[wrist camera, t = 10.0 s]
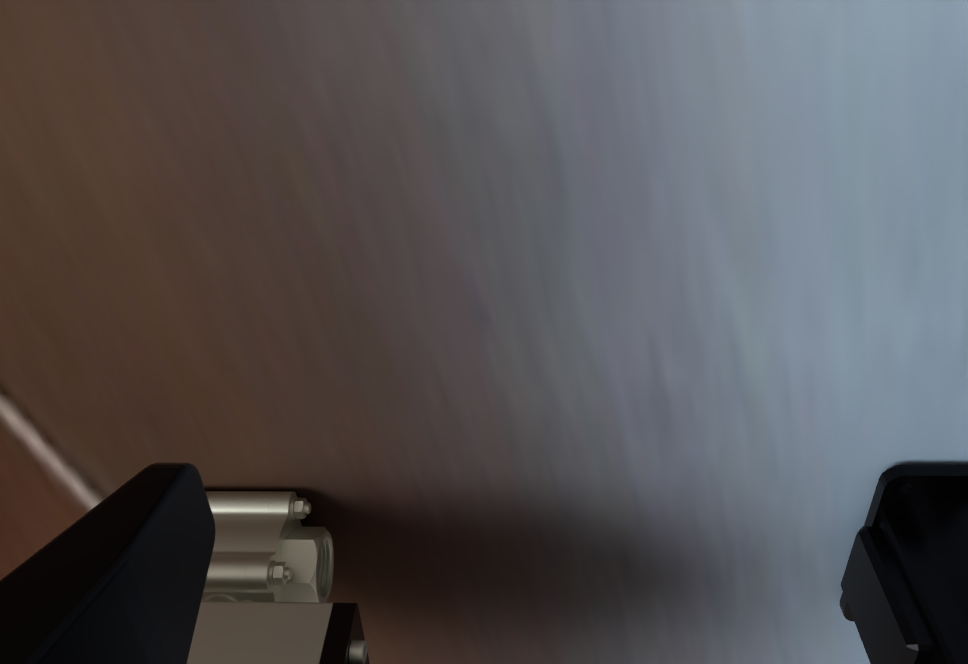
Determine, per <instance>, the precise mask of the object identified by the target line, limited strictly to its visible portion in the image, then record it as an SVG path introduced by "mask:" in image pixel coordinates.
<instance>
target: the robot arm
mask: <svg viewBox="0 0 968 664" xmlns="http://www.w3.org/2000/svg"><path fill="white" fill-rule="evenodd" d="M901 482H903V483H901ZM898 483H901V484H898ZM896 484H897V485H896ZM214 542H215V521H214V517H213V514H212V511H211V508H210V504H209V501H208V498H207V495H206V492H205V489H204V486H203V483H202V480H201V476H200V474H199V472H198V470H197V468H196V467H195V466H194V465H192V464H189V463H155V464H151V465H149V466H147V467H146V468H144V469H143V470H142V471H140V472H139V473H138V474H137V475H135V476H134V477H133V478H131V479H130V480H129V481H128V482H126V483H125V484H124V485H122V486H121V487H120V488H119V489H117V490H116V491H115V492H113V493H112V494H111V495H110V496H108V497H107V498H106V499H104V500H103V501H102V502H101V503H99V504H98V505H97V506H96V507H94V508H93V509H92V510H90V511H89V512H88V513H87V514H85V515H84V516H83V517H81V518H80V519H79V520H78V521H76V522H75V523H74V524H72V525H71V526H70V527H69V528H67V529H66V530H65V531H63V532H62V533H61V534H60V535H58V536H57V537H56V538H54V539H53V540H52V541H51V542H49V543H48V544H47V545H45V546H44V547H43V548H42V549H40V550H39V551H38V552H36V553H35V554H34V555H33V556H31V557H30V558H29V559H27V560H26V561H25V562H24V563H22V564H21V565H20V566H18V567H17V568H16V569H15V570H13V571H12V572H11V573H9V574H8V575H7V576H6V577H4V578H3V579H2V580H0V664H187V660H188V656H189V652H190V647H191V643H192V639H193V634H194V630H195V626H196V621H197V617H198V613H199V608H200V604H201V600H202V595H203V591H204V587H205V582H206V578H207V574H208V569H209V565H210V561H211V556H212V552H213V548H214ZM841 587H842V590H843V593H842V596H841V599H840V607H841V609H842V612H843V615H844V617H845V618H846V619H848V620H850V621H855V624H856V627H857V629H858V632H859V634H860V637H861V640H862V642H863V645H864V648H865V650H866V653H867V655H868V658H869V661H870V663H871V664H968V466H894V467H892V468H889V469H887V470H886V471H885V472H883V473H882V475H881V476H880V478H879V481H878V484H877V487H876V490H875V493H874V496H873V500H872V503H871V506H870V509H869V512H868V515H867V518H866V521H865V525H864V526H863V527H862V528H861V529H860V530H859V532H858V533H857V535H856V538H855V541H854V544H853V547H852V551H851V554H850V557H849V560H848V563H847V566H846V570H845V573H844V576H843V579H842V582H841Z"/></svg>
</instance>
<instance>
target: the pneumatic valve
mask: <svg viewBox="0 0 968 664" xmlns="http://www.w3.org/2000/svg"><path fill="white" fill-rule="evenodd" d="M205 492H206V495H207V498H208V501H209V504H210V508H211V511H212V514H213V517H214V521H215V542H214V548H213V552H212V556H211V561H210V565H209V569H208V574H207V578H206V582H205V587H204V591H203V595H202V600H201V604H200V608H199V613H198V617H197V621H196V626H195V630H194V634H193V639H192V643H191V647H190V652H189V656H188V660H187V664H370V663H369V658H368V653H367V644H366V641H365V638H364V633H363V628H362V623H361V619H360V614H359V609H358V604H357V603H326V602H327V600H328V598H329V595H330V591H331V586H332V580H333V571H334V549H333V541H332V537H331V535H330V533H329V532H328V531H327V529H326V528H325V527H302V525H301V521H300V519H304V518H306V516H307V514H309V513H310V512H311V504H310V503H308V502H307V499H306V498H298V497H297V495H296V493H295V492H278V491H205Z"/></svg>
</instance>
